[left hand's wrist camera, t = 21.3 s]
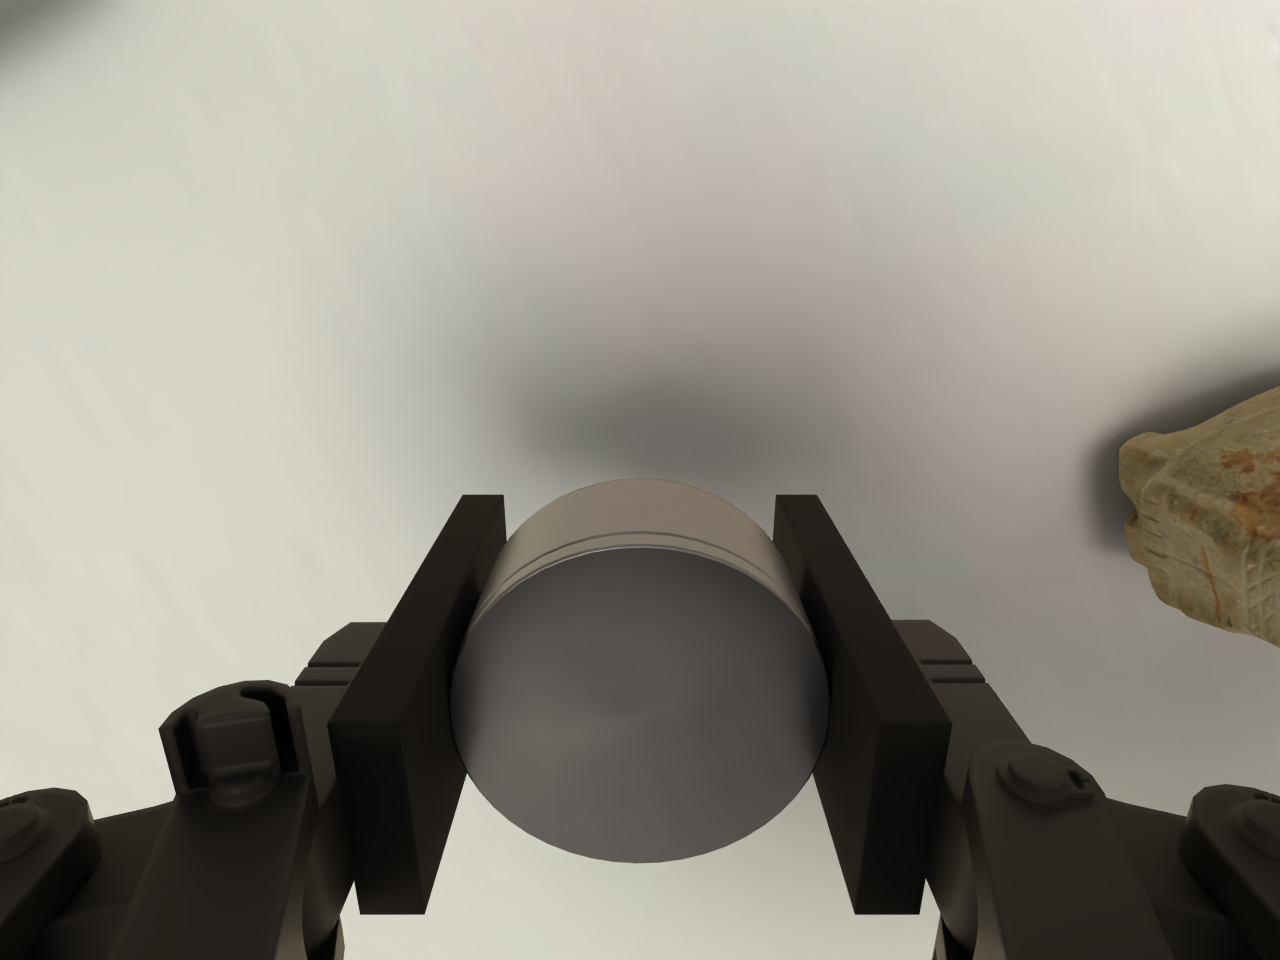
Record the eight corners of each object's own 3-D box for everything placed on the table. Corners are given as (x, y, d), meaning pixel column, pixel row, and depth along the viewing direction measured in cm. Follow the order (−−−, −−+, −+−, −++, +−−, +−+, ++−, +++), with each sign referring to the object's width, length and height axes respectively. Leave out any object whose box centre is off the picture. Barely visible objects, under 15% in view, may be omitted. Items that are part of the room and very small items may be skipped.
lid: (438, 517, 12) (392, 594, 9) (765, 443, 11) (797, 503, 9) (534, 776, 13) (512, 892, 11) (820, 719, 13) (858, 827, 11)
